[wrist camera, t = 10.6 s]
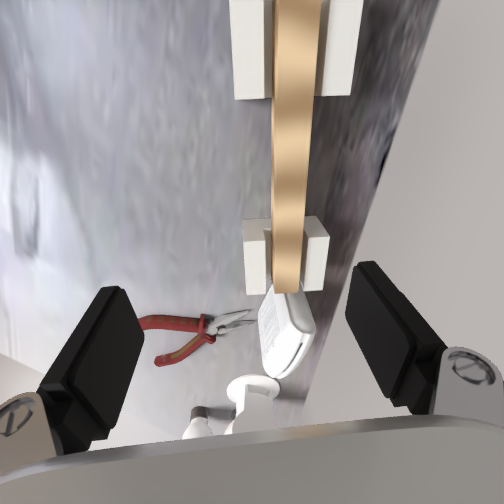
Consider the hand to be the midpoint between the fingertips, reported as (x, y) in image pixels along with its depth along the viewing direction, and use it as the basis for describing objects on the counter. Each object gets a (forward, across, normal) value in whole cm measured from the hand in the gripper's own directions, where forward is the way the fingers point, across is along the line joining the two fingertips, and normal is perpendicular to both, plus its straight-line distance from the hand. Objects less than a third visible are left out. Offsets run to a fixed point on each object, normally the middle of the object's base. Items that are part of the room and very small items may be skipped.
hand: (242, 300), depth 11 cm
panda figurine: (+23, +1, +48) cm, 53 cm away
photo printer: (+23, -5, +22) cm, 32 cm away
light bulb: (+23, +13, +54) cm, 60 cm away
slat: (+21, -6, +1) cm, 21 cm away
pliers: (+24, +10, +29) cm, 39 cm away
